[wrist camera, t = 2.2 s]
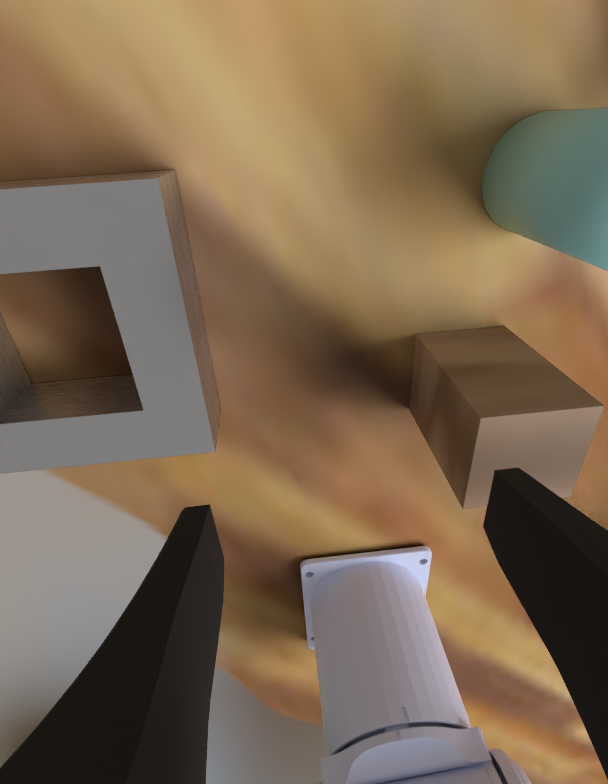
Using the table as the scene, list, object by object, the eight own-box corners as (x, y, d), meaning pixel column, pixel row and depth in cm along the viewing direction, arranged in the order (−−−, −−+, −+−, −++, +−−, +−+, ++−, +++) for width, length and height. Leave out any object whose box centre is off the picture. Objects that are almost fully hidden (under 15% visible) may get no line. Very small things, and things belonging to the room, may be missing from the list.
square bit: (488, 401, 21) (570, 497, 16) (409, 409, 21) (463, 509, 16) (504, 325, 19) (604, 405, 14) (415, 333, 19) (480, 418, 13)
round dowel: (572, 227, 17) (705, 270, 12) (474, 235, 17) (567, 282, 12) (604, 107, 15) (781, 96, 10) (492, 114, 15) (614, 107, 10)
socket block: (220, 410, 20) (215, 451, 17) (-1, 432, 20) (-40, 477, 17) (175, 169, 15) (157, 178, 12) (-130, 190, 14) (-214, 204, 12)
